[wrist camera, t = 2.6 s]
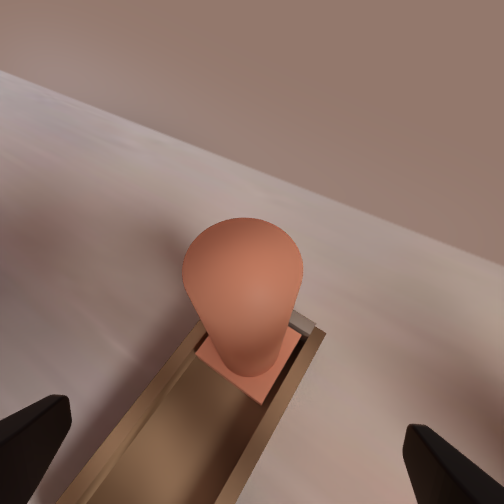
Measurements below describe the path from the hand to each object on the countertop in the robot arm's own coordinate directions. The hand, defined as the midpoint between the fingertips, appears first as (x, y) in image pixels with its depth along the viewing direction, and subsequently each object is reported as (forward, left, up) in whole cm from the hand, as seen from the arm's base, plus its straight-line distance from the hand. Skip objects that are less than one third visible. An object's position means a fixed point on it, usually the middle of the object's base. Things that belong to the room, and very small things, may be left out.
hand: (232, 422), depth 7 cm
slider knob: (+2, +3, -10) cm, 11 cm away
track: (-2, +1, -11) cm, 11 cm away
